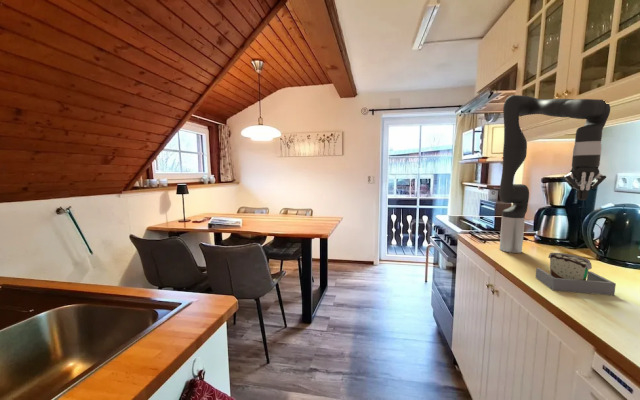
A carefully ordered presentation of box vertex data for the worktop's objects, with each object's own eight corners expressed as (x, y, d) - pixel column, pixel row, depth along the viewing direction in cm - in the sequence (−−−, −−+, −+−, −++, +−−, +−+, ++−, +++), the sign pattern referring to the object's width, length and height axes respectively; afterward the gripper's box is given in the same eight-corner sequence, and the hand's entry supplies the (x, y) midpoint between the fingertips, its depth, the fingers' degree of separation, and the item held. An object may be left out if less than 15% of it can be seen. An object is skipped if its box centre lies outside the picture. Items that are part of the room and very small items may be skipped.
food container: (599, 290, 90) (602, 262, 89) (585, 292, 88) (588, 263, 87) (558, 276, 102) (561, 251, 100) (546, 278, 100) (548, 252, 99)
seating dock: (535, 278, 100) (536, 267, 100) (590, 282, 96) (591, 271, 96) (552, 290, 90) (553, 278, 90) (614, 295, 86) (615, 283, 86)
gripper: (600, 154, 103) (595, 199, 105) (559, 155, 106) (555, 198, 108) (616, 153, 96) (610, 201, 98) (572, 154, 99) (567, 200, 101)
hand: (581, 199), depth 103 cm, fingers closed
